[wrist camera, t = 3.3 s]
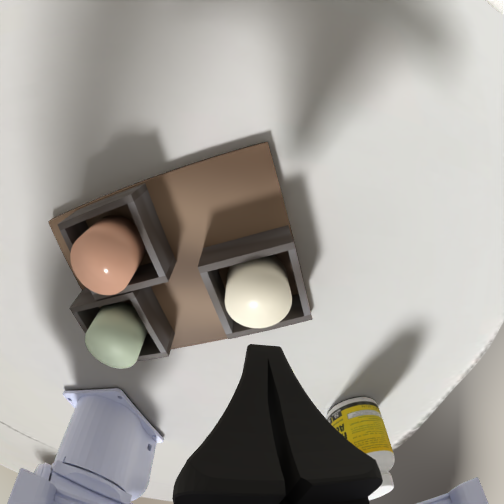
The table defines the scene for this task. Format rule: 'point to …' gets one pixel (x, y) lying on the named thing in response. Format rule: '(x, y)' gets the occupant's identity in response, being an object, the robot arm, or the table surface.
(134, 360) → the sage button
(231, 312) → the cream button
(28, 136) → the table surface
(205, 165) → the button panel
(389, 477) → the supplement bottle
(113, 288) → the terracotta button
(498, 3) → the flower in vase
